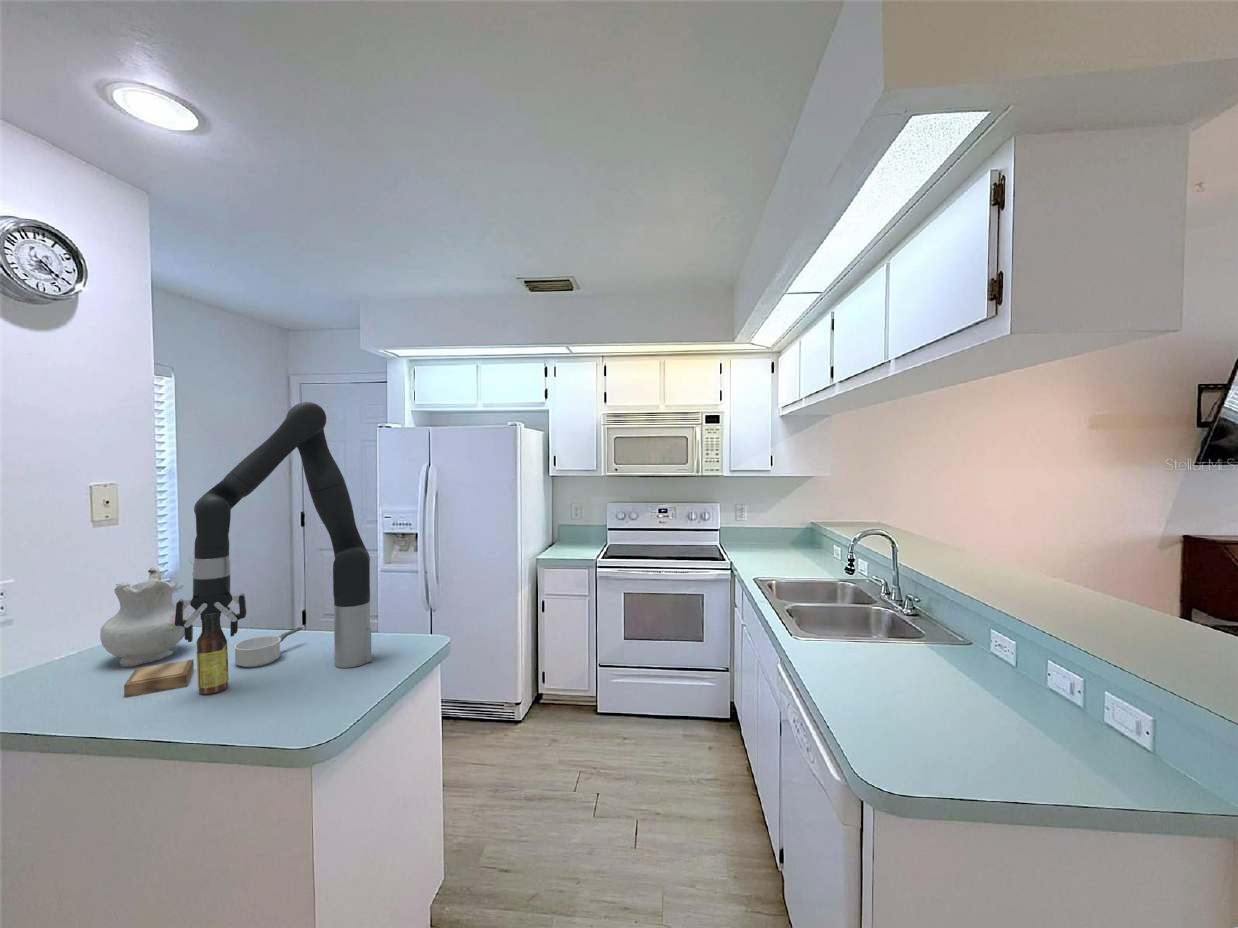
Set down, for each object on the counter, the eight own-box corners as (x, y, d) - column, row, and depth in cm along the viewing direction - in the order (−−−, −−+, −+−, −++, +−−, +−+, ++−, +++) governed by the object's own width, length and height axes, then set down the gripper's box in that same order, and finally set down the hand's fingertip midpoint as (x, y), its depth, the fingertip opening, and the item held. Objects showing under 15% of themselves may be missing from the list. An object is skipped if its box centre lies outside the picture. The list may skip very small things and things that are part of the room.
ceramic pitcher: (106, 657, 160) (95, 575, 158) (189, 637, 173) (180, 561, 171) (103, 681, 144) (91, 590, 142) (195, 657, 157) (185, 573, 155)
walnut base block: (193, 669, 148) (193, 658, 148) (186, 686, 138) (186, 673, 138) (136, 679, 142) (135, 667, 142) (124, 697, 132) (124, 684, 132)
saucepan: (315, 647, 166) (315, 629, 166) (253, 672, 147) (253, 651, 147) (287, 642, 170) (287, 625, 170) (223, 666, 151) (223, 646, 151)
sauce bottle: (234, 687, 137) (233, 610, 137) (206, 697, 132) (205, 617, 131) (218, 682, 140) (218, 607, 140) (191, 692, 135) (190, 613, 134)
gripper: (247, 568, 142) (246, 629, 143) (178, 574, 135) (178, 638, 135) (245, 574, 136) (244, 638, 136) (172, 580, 129) (172, 647, 129)
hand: (211, 638), depth 136 cm, fingers open, 8 cm apart
